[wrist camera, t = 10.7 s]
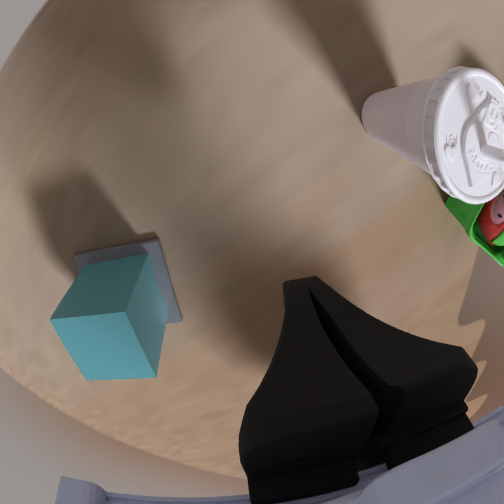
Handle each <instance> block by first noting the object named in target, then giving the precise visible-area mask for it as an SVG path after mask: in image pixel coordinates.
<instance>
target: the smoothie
mask: <svg viewBox="0 0 504 504" xmlns="http://www.w3.org/2000/svg"><path fill="white" fill-rule="evenodd" d="M362 123H363V126H364V128H365V130H366V132H367V133H368V134H369V135H370V136H371V137H372V138H373V139H375V140H376V141H378V142H380V143H382V144H383V145H385V146H387V147H388V148H390V149H392V150H393V151H395V152H397V153H398V154H400V155H401V156H403V157H405V158H406V159H408V160H409V161H411V162H412V163H414V164H416V165H417V166H419V167H420V168H422V169H423V170H425V171H426V172H427V173H429V174H430V175H432V177H433V179H434V180H435V181H436V182H437V184H438V185H439V186H440V188H441V189H442V190H443V191H445V192H446V193H448V194H449V195H450V196H452V197H455V198H458V199H460V200H462V201H464V202H466V203H470V204H481V203H485V202H488V201H489V200H491V199H493V198H494V197H496V196H497V195H498V194H499V193H500V192H501V191H502V190H503V188H504V86H503V85H502V83H501V82H500V81H499V80H498V79H497V78H496V77H495V76H493V75H492V74H491V73H489V72H487V71H485V70H482V69H479V68H468V67H464V66H460V67H454V68H450V69H448V70H447V71H445V72H444V73H442V74H441V75H439V76H438V77H436V78H432V79H428V80H424V81H419V82H415V83H411V84H407V85H402V86H399V87H395V88H391V89H387V90H383V91H380V92H376V93H374V94H372V95H370V96H369V97H368V98H367V100H366V101H365V103H364V105H363V108H362Z"/></svg>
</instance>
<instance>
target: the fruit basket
mask: <svg viewBox="0 0 504 504" xmlns="http://www.w3.org/2000/svg"><path fill="white" fill-rule="evenodd" d="M445 205H446V207H447V208H448V209H449V211H450V212H451V213H452V214H453V215H454V216H455V217H456V219H457V220H458V221H459V222H460V223H461V225H462V226H463V227H464V228H465V231H466V233H467V235H468V236H469V237H470V238H471V240H472V241H474V242H475V243H476V244H477V245H479V246H480V247H481V248H482V249H483V250H485V251H486V252H487V253H488V254H489V255H490V256H491V257H493V259H495V260H496V261H497V262H498V263H499V264H500V265H501V266H504V188H503V190H502V191H501V192H500V193H499V194H498V195H497V196H496V197H494V198H493V199H491V200H489V201H488V202H485V203H481V204H470V203H466V202H464V201H462V200H460V199H458V198H455V197H452V196H450V195H449V197H448V199H447V201H446V203H445Z"/></svg>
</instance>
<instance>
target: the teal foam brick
mask: <svg viewBox="0 0 504 504" xmlns="http://www.w3.org/2000/svg"><path fill="white" fill-rule="evenodd" d="M167 315H168V311H167V309H166V306H165V303H164V300H163V297H162V294H161V291H160V288H159V285H158V282H157V279H156V276H155V272H154V269H153V266H152V263H151V260H150V256H149V253H148V254H142V255H136V256H131V257H125V258H119V259H114V260H108V261H102V262H97V263H91V264H86V265H85V266H84V268H83V269H82V271H81V272H80V273H79V275H78V276H77V278H76V279H75V281H74V282H73V284H72V285H71V287H70V288H69V290H68V291H67V293H66V294H65V296H64V297H63V299H62V300H61V302H60V304H59V305H58V307H57V308H56V310H55V311H54V313H53V315H52V316H51V318H50V321H51V323H52V325H53V327H54V328H55V330H56V332H57V334H58V335H59V337H60V339H61V341H62V342H63V344H64V346H65V347H66V349H67V351H68V352H69V354H70V355H71V357H72V359H73V360H74V362H75V363H76V365H77V366H78V368H79V369H80V371H81V373H82V374H83V375H84V377H85V378H86V380H110V379H136V378H153V377H157V371H158V365H159V359H160V353H161V347H162V342H163V336H164V331H165V326H166V320H167Z"/></svg>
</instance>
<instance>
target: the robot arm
mask: <svg viewBox="0 0 504 504" xmlns="http://www.w3.org/2000/svg"><path fill="white" fill-rule="evenodd" d="M283 295H284V307H285V314H284V320H283V326H282V331H281V335H280V338H279V342H278V345H277V348H276V351H275V354H274V356H273V359H272V361H271V364H270V366H269V368H268V370H267V372H266V374H265V376H264V378H263V380H262V382H261V384H260V386H259V387H258V389H257V390H256V392H255V394H254V395H253V397H252V398H251V400H250V401H249V403H248V404H247V406H246V409H245V413H244V416H243V420H242V424H241V428H240V433H239V445H238V446H239V455H240V462H241V465H242V467H243V469H244V471H245V474H246V476H247V478H248V487H249V494H246V495H235V496H221V497H197V498H196V497H193V498H192V497H189V498H188V497H184V498H182V497H153V496H138V495H128V494H119V493H111V492H106V491H105V490H104V489H103V488H102V487H100V486H99V485H97V484H95V483H92V482H88V481H84V480H78V479H73V478H68V477H61V478H60V482H59V487H58V492H57V497H56V503H55V504H504V405H502V406H501V407H499V408H497V409H496V410H494V411H493V412H491V413H489V414H488V415H486V416H485V417H483V418H481V419H479V420H478V421H476V422H474V423H471V422H470V420H469V418H468V416H467V415H466V413H465V412H467V411H468V406H467V405H466V403H465V402H464V400H465V398H466V396H467V395H468V393H469V391H470V389H471V388H472V386H473V384H474V382H475V380H476V377H477V372H478V368H477V366H476V364H475V363H474V362H473V360H472V359H471V358H470V356H469V355H468V354H467V353H466V351H465V350H464V349H463V348H462V347H459V346H454V345H449V344H444V343H439V342H435V341H431V340H428V339H424V338H421V337H418V336H415V335H412V334H409V333H407V332H404V331H402V330H399V329H397V328H395V327H392V326H390V325H388V324H386V323H384V322H382V321H380V320H378V319H376V318H374V317H373V316H371V315H369V314H367V313H366V312H364V311H363V310H361V309H360V308H358V307H356V306H355V305H353V304H352V303H351V302H349V301H348V300H346V299H345V298H344V297H342V296H341V295H340V294H338V293H337V292H336V291H334V290H333V289H332V288H331V287H329V286H328V285H327V284H326V283H324V282H323V281H322V280H321V279H319V278H318V277H317V276H313V277H308V278H302V279H296V280H290V281H285V282H284V283H283Z"/></svg>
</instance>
